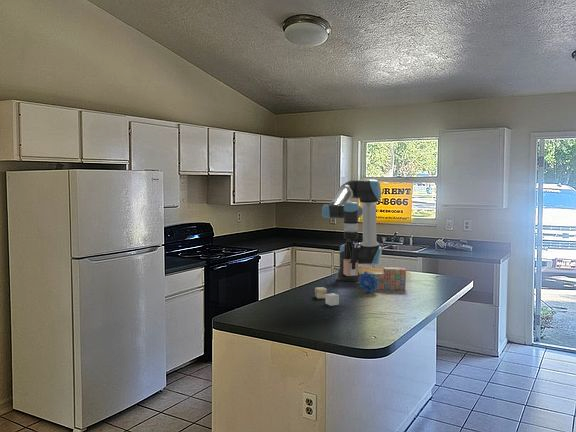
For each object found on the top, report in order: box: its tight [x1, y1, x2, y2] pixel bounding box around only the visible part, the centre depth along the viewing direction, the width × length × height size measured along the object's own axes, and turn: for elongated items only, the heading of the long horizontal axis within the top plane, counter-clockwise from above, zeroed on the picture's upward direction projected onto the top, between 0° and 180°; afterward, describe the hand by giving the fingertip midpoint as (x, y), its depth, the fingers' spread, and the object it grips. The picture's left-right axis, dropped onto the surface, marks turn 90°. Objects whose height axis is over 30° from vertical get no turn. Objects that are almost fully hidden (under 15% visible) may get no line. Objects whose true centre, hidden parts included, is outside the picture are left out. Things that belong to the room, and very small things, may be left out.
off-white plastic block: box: [325, 292, 340, 306], centre depth 259 cm, size 5×5×5 cm
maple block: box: [314, 286, 328, 300], centre depth 275 cm, size 5×5×5 cm
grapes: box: [358, 271, 378, 293], centre depth 285 cm, size 12×7×12 cm, turn 62°
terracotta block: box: [343, 259, 359, 276], centre depth 269 cm, size 6×6×8 cm
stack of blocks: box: [367, 266, 407, 291], centre depth 297 cm, size 21×6×12 cm, turn 86°
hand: (350, 274), depth 270 cm, fingers closed on terracotta block, 6 cm apart
